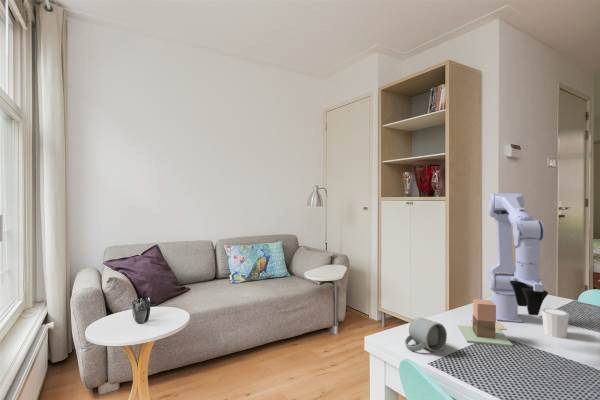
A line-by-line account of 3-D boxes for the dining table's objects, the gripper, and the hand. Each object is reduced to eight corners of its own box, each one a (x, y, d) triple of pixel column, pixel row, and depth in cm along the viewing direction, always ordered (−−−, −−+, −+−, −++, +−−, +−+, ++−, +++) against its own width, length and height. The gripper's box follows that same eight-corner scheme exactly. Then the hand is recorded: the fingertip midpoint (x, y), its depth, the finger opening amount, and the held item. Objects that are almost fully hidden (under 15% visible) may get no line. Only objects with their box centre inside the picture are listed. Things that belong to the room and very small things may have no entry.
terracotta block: (473, 314, 105) (473, 298, 105) (490, 316, 104) (490, 300, 104) (477, 320, 100) (477, 303, 100) (496, 321, 99) (496, 305, 99)
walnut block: (472, 330, 105) (472, 314, 105) (490, 331, 104) (490, 316, 104) (476, 336, 100) (476, 320, 100) (495, 338, 99) (495, 321, 99)
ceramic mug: (425, 337, 101) (425, 312, 101) (447, 349, 93) (447, 321, 93) (398, 345, 96) (397, 318, 96) (419, 357, 89) (418, 328, 89)
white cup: (558, 339, 99) (558, 316, 99) (536, 331, 106) (536, 309, 106) (575, 337, 101) (575, 314, 101) (552, 328, 108) (552, 307, 108)
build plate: (458, 326, 109) (458, 325, 109) (498, 330, 106) (498, 328, 106) (467, 342, 98) (467, 340, 98) (513, 346, 95) (513, 344, 95)
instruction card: (471, 320, 115) (471, 319, 115) (500, 323, 113) (500, 322, 113) (475, 327, 109) (475, 326, 109) (506, 329, 107) (506, 328, 107)
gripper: (503, 257, 103) (502, 301, 103) (521, 266, 89) (521, 317, 89) (529, 258, 101) (528, 303, 101) (552, 268, 87) (552, 320, 87)
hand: (527, 310), depth 95 cm, fingers open, 7 cm apart
